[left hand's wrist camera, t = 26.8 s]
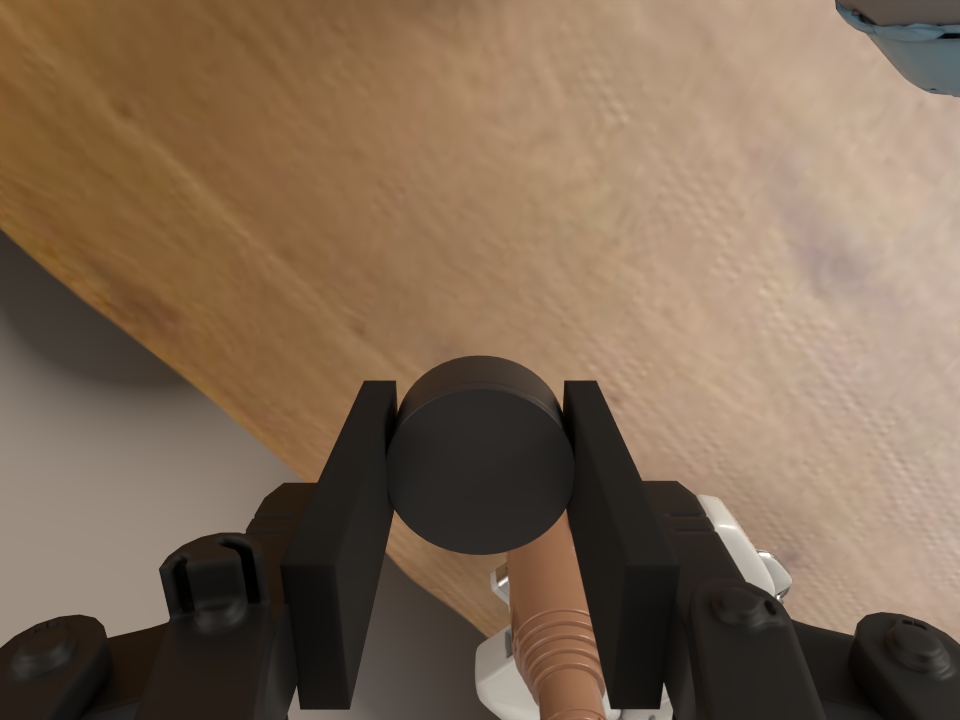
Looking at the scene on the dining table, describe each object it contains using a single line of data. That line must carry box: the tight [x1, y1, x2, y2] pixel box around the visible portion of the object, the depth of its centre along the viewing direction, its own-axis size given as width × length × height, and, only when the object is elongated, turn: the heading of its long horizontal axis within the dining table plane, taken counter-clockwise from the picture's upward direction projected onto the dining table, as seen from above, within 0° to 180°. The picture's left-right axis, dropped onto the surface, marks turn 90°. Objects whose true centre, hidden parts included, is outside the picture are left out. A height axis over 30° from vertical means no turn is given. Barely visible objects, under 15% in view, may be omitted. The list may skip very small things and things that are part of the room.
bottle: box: [506, 509, 607, 720], centre depth 35 cm, size 5×5×19 cm
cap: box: [385, 356, 575, 555], centre depth 14 cm, size 4×4×2 cm
